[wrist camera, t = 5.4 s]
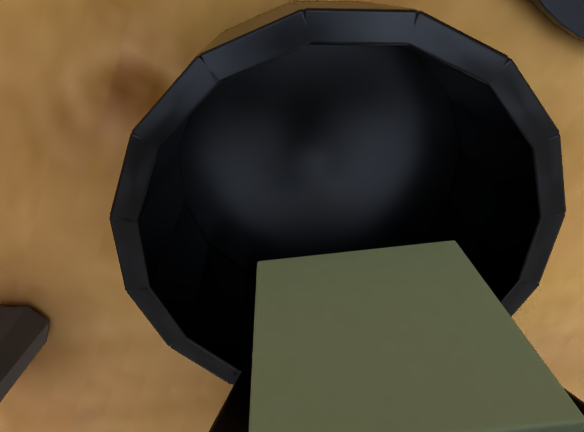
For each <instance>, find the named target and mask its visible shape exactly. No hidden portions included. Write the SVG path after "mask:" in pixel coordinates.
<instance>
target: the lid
mask: <svg viewBox="0 0 584 432" xmlns="http://www.w3.org/2000/svg"><path fill="white" fill-rule="evenodd" d="M533 2H534V3H535V5H536V6H537V7H538V8H539V9H540V10H541V11H542V12H543V13H544V14H545V15H546V16H547V17H548V18H549V19H550V20H551V21H552V22H553V23H554V24H555V25H557V26H558V27H559V28H561V29H562V30H564V31H565V32H567V33H568V34H570V35H571V36H573V37H575V38H577V39H579V40H582V41H584V0H533Z"/></svg>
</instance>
